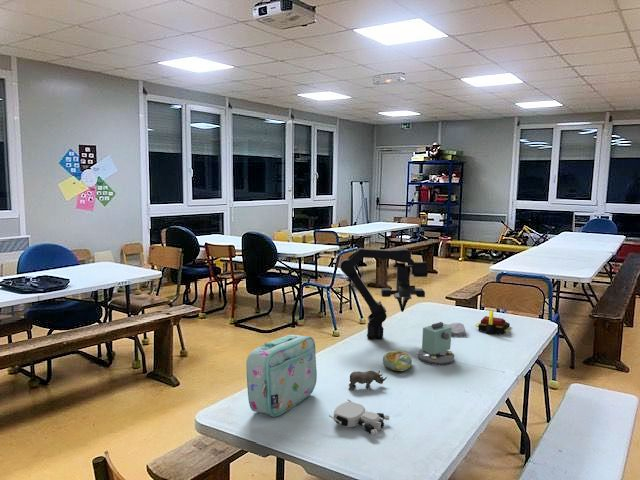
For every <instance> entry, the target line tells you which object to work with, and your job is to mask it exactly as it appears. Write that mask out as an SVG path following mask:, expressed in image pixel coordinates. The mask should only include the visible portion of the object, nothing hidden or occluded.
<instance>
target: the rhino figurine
mask: <svg viewBox="0 0 640 480" xmlns="http://www.w3.org/2000/svg"><path fill="white" fill-rule="evenodd" d="M387 377H388V376H385V378H384V376H383V373H382V374H381V370H378V372H376V371H375V370H371V369H370V370H367V371H353V372H351V373H350V374H349V382H350V383H349V384H348V390H349V391H353V390H354V388H357V385H356V384H357V383H358V384H361V385H364V384H365V389H366V390H370V389H371V387H370V386H371V384H372V383H373V381H375V382H376V383H377V384H379V385H382V384H384V383H383V382H384V381H386V380H387Z"/></svg>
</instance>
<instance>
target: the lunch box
mask: <svg viewBox="0 0 640 480" xmlns="http://www.w3.org/2000/svg"><path fill="white" fill-rule="evenodd" d="M316 356H317V355H316V343H315V340H314V338H313V337H312V336H304V335H297V334H293V333H292V334H288V335H284V336H283V337H278V338H276V339H274V340H272V341H269V342H264V344H262V345H260V346H258V347H256V348H255V349H252V351H251V352H250V353H249V354H248V356H247V358H246V368H245V369H246V386H247V388H246V389H247V399H248V404H249V407H250V409H251V411H252V412H255V413H261V414H266V415H269V416H271V417H273V418H275V417H279V416H282V415H283V414H284V413H286V412H288V411H289V410H291V409H292V408H294V407H295V406H296V405H298V404H300V403H301V402H302V401H304V400H305V399H306V398H308V397H309V396H311V395H312V394H313V392H314V390H315V387H316V385H317V378H318V377H317V376H318V375H317V373H318V370H317V360H316V359H317V357H316Z"/></svg>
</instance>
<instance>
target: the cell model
mask: <svg viewBox="0 0 640 480" xmlns="http://www.w3.org/2000/svg"><path fill="white" fill-rule="evenodd" d="M412 363H413V360H412V357H411V355H410V354H409V353H407V352H406V351H403V350H392V351H388V352H386V353H385V354H384V355H383V356H382V364H383V365H384V366H385V367H386V368H388V369H389V370H393V371H396V372H403V371H407V370H409V369H411V367H412Z"/></svg>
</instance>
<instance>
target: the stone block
mask: <svg viewBox="0 0 640 480" xmlns="http://www.w3.org/2000/svg"><path fill="white" fill-rule="evenodd" d="M442 323H443V322H442ZM443 325H446V326H449V327H452V329H451V337H452V336H453V337H466V336H467V333H466V328H465V324H463V323H461V322H452V323H443Z"/></svg>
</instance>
